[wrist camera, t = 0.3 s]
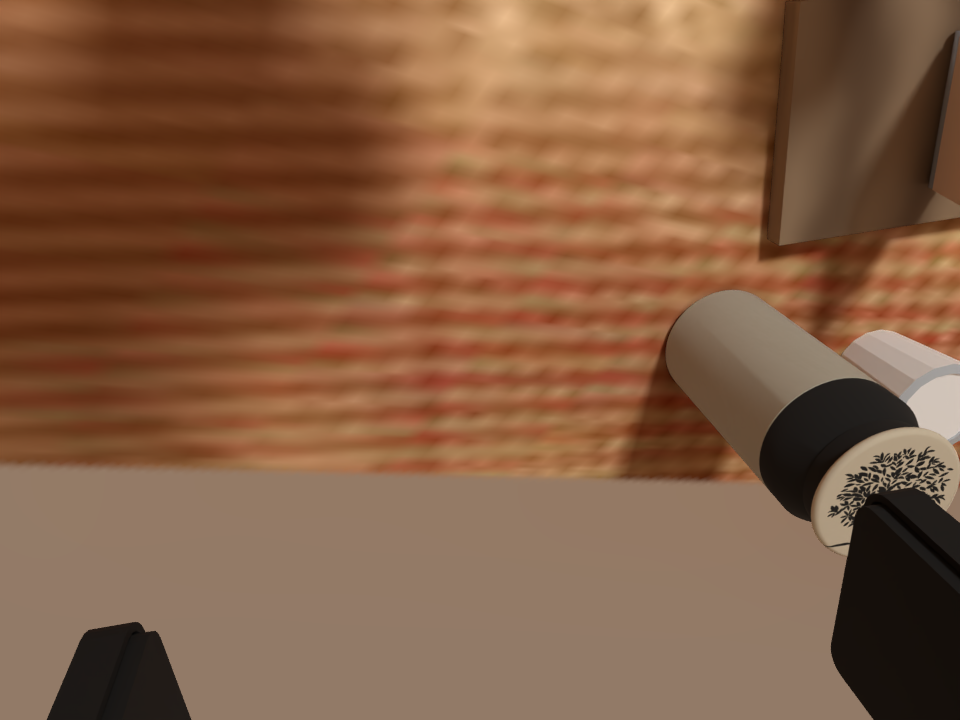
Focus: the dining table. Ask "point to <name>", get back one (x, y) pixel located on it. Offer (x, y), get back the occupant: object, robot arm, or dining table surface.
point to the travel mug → (803, 414)
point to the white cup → (912, 377)
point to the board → (859, 116)
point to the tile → (949, 134)
